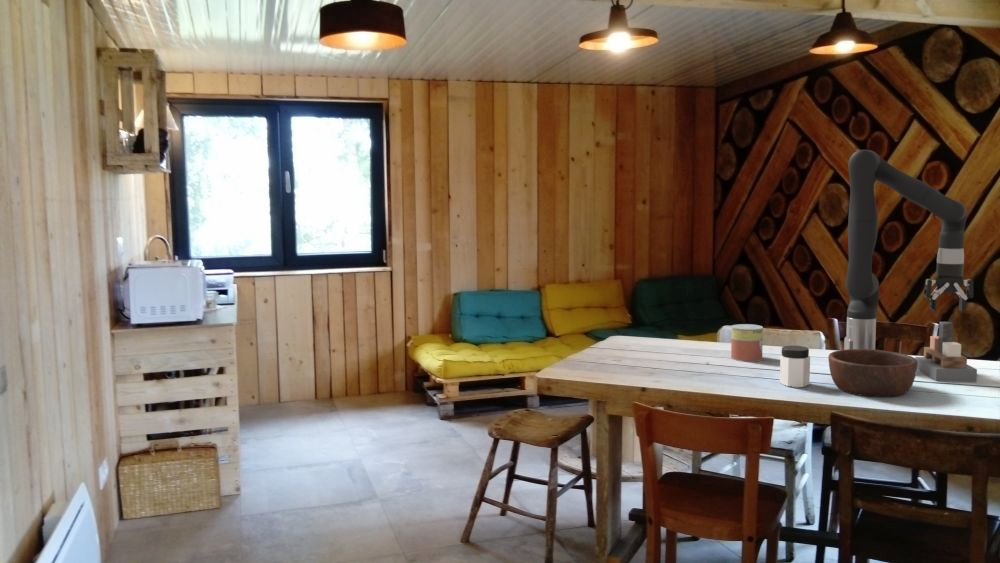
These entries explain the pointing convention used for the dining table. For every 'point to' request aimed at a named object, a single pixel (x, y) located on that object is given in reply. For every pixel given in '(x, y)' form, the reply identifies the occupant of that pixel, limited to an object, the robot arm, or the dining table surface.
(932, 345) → the cargo terracotta
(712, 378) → the dining table surface
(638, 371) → the dining table surface
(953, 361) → the pallet
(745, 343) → the canned food
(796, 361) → the jar
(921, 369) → the dock
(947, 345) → the block
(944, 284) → the robot arm
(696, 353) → the dining table surface
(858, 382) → the wooden bowl
